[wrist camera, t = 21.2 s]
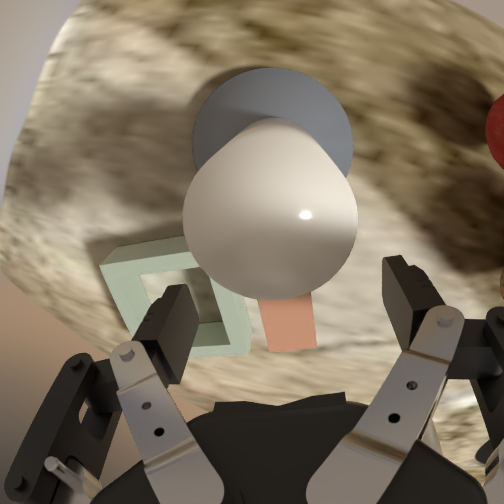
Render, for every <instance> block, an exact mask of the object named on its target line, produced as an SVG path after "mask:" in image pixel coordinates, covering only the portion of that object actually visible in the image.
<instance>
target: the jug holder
mask: <svg viewBox="0 0 504 504" xmlns="http://www.w3.org/2000/svg"><path fill="white" fill-rule="evenodd" d="M99 267H100V269H101V272H102V274H103V276H104V279H105V281H106V283H107V286H108V288H109V290H110V292H111V294H112V297H113V299H114V301H115V303H116V305H117V307H118V309H119V311H120V314H121V316H122V318H123V320H124V322H125V324H126V326H127V328H128V330H129V332H130V334H131V336H132V338H133V336H134V335H135V333H136V331H137V329H138V327H139V325H140V323H141V322H143V318H144V316H145V315H146V313H147V311H148V309H149V307H150V305H151V303H150V300H149V298H148V296H147V293H146V291H145V288H144V286H143V283H142V281H141V278H140V276H139V275H143V274H150V273H158V272H165V271H173V270H180V269H188V268H195V267H200V266H199V265H198V263H197V262H196V260H195V259H194V257H193V255H192V253H191V252H190V250H189V247H188V244H187V242H186V239H185V235H184V236H178V237H172V238H166V239H161V240H155V241H149V242H143V243H138V244H132V245H127V246H121V247H116V248H115V249H114V250H113V251H112V252H111V253H110V254H109V255H108V256H107V257H106V258H105V259H104V260H103V262H102V263H101V264H100V265H99ZM209 278H210V277H209ZM210 281H211V284H212V288H213V291H214V294H215V297H216V301H217V304H218V307H219V310H220V313H221V316H222V320H223V322H212V323H200V324H199V326H198V330H197V333H196V336H195V339H194V342H193V345H192V348H191V351H190V354H189V357H188V358H197V357H218V356H234V355H247V354H249V351H250V344H251V336H252V327H251V323H250V319H249V315H248V311H247V308H246V304H245V300H244V296H242V295H239V294H236V293H234V292H232V291H230V290H228V289H226V288H224V287H222V286H221V285H220V284H218V283H217V282H215V281H214V280H213V279H212V278H210Z"/></svg>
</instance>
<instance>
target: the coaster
mask: <svg viewBox="0 0 504 504" xmlns="http://www.w3.org/2000/svg"><path fill="white" fill-rule="evenodd" d="M272 117H278V118H285V119H288V120H292V121H294V122H296V123H298V124H299V125H301V126H302V127H304V128H305V129H306V130H307V131H308V132H309V133H310V134H311V135H312V136H313V138H314V139H315V140H316V141H317V142H318V144H319V145H320V146H321V147H322V149H323V150H324V151H325V152H326V153H327V155H328V156H329V157H330V158H331V160H332V161H333V162H334V163H335V165H336V166H337V167H338V169H339V170H340V171H341V172H342V174H343V175H344V177H345V178H346V177H347V174H348V172H349V169H350V166H351V161H352V155H353V137H352V131H351V127H350V124H349V121H348V118H347V115H346V113H345V111H344V110H343V108H342V106H341V105H340V103H339V102H338V100H337V99H336V98H335V96H334V95H333V94H332V93H331V92H330V91H329V90H328V89H327V88H326V87H324V86H323V85H322V84H321V83H319V82H318V81H316V80H314V79H313V78H311V77H309V76H307V75H305V74H302V73H300V72H297V71H293V70H290V69H283V68H260V69H254V70H250V71H246V72H244V73H241V74H239V75H236V76H234V77H233V78H231V79H229V80H227V81H226V82H225V83H223V84H222V85H221V86H219V87H218V88H217V89H216V90H215V91H214V92H213V93H212V94H211V95H210V96H209V98H208V99H207V100H206V102H205V103H204V105H203V107H202V108H201V110H200V112H199V114H198V117H197V120H196V122H195V127H194V131H193V140H192V147H193V157H194V162H195V165H196V168H197V172H198V171H199V170H200V168H201V167H202V166H203V165H204V164H205V163H206V162H207V161H208V160H209V159H210V158H211V157H212V156H213V155H215V154H216V153H217V152H218V151H219V150H220V149H221V148H222V147H224V146H225V145H226V144H227V143H228V142H229V141H231V140H232V139H233V138H234V137H235V136H236V135H238V134H239V133H240V132H241V131H242V130H243V129H245V128H246V127H247V126H249V125H250V124H252V123H254V122H256V121H258V120H261V119H265V118H272Z"/></svg>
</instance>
